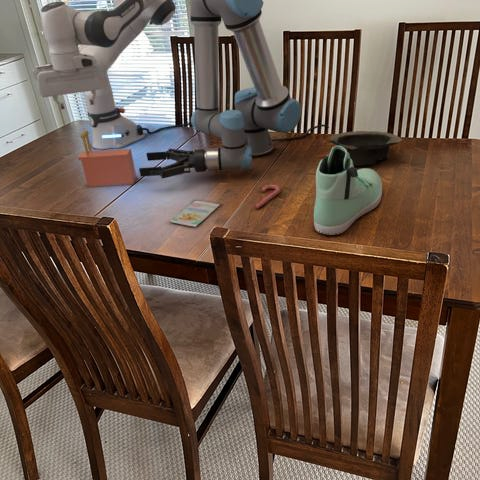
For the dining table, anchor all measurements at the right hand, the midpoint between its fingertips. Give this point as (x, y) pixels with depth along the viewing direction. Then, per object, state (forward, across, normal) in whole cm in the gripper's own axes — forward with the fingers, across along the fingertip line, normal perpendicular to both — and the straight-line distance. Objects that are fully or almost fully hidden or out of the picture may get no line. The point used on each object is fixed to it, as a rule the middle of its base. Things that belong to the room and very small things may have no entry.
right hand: (143, 164), depth 162 cm
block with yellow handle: (+13, +2, +3) cm, 13 cm away
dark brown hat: (-76, +10, -7) cm, 77 cm away
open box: (+12, +2, -7) cm, 14 cm away
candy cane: (-40, -18, -7) cm, 45 cm away
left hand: (+18, +2, +20) cm, 27 cm away
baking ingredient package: (-19, -26, -7) cm, 33 cm away
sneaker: (-64, -28, -7) cm, 70 cm away
